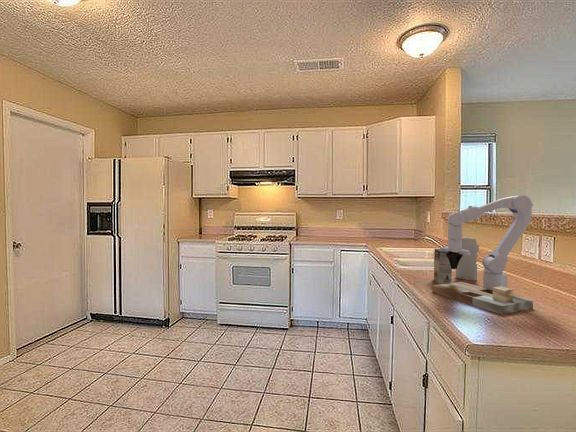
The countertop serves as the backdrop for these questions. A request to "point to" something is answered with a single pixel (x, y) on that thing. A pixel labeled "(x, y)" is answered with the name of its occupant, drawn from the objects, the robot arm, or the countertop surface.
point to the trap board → (481, 297)
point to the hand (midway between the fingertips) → (453, 268)
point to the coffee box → (442, 267)
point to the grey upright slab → (468, 260)
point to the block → (502, 293)
